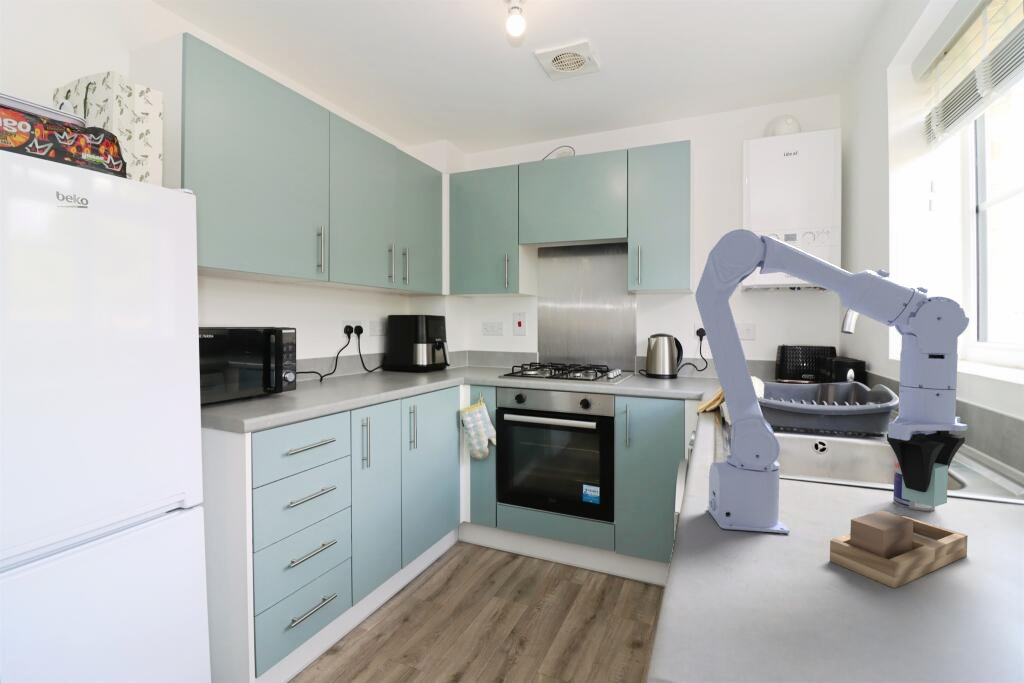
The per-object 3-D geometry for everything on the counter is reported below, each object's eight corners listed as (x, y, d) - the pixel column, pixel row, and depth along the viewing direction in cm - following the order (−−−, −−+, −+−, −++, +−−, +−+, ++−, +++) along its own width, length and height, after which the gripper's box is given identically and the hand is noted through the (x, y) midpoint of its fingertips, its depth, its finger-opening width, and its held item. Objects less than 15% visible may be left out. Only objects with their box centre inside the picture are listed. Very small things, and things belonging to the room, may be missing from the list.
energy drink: (893, 497, 83) (895, 430, 82) (933, 505, 79) (936, 435, 79) (893, 506, 78) (895, 435, 78) (936, 514, 75) (938, 440, 75)
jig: (894, 588, 53) (895, 565, 53) (829, 560, 59) (830, 539, 59) (966, 555, 61) (967, 535, 61) (903, 534, 67) (903, 515, 67)
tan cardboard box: (882, 567, 55) (883, 530, 55) (849, 555, 58) (850, 519, 58) (912, 555, 58) (913, 520, 58) (880, 544, 61) (881, 510, 61)
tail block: (934, 507, 60) (935, 468, 60) (901, 498, 63) (902, 461, 63) (946, 502, 62) (948, 465, 62) (914, 494, 65) (915, 458, 65)
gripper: (938, 393, 55) (934, 506, 56) (991, 388, 62) (987, 489, 62) (871, 386, 62) (868, 488, 62) (925, 382, 68) (922, 474, 69)
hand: (923, 487), depth 63 cm, fingers closed on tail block, 3 cm apart
